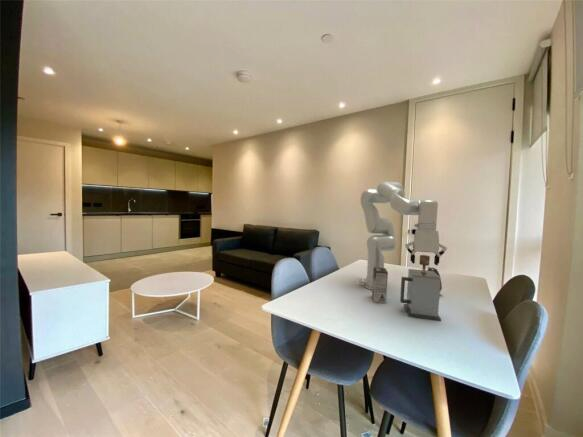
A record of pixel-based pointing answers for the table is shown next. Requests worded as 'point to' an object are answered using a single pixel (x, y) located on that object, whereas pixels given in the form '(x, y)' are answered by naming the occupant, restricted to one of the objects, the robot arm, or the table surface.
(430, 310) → the press
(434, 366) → the table surface
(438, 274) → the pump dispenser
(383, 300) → the coffee box
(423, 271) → the plunger
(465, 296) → the table surface
